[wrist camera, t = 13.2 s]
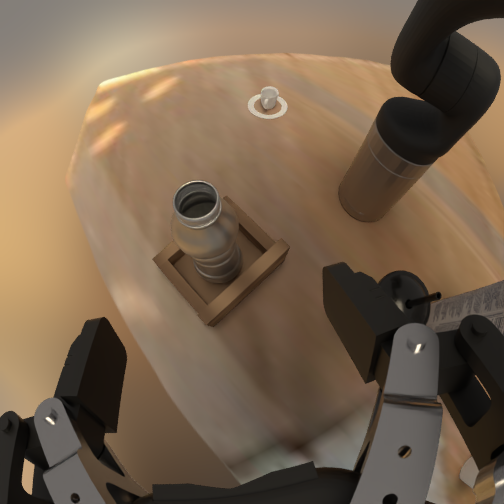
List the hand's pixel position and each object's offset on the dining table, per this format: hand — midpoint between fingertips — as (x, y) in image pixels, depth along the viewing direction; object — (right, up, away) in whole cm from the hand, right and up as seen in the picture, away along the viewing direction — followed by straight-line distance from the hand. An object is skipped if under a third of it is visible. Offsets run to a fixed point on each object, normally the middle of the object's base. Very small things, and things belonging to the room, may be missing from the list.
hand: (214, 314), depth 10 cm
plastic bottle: (-3, 0, +31) cm, 31 cm away
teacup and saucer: (+7, +32, +42) cm, 54 cm away
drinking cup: (+17, -7, +30) cm, 35 cm away
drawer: (-3, +1, +32) cm, 32 cm away
